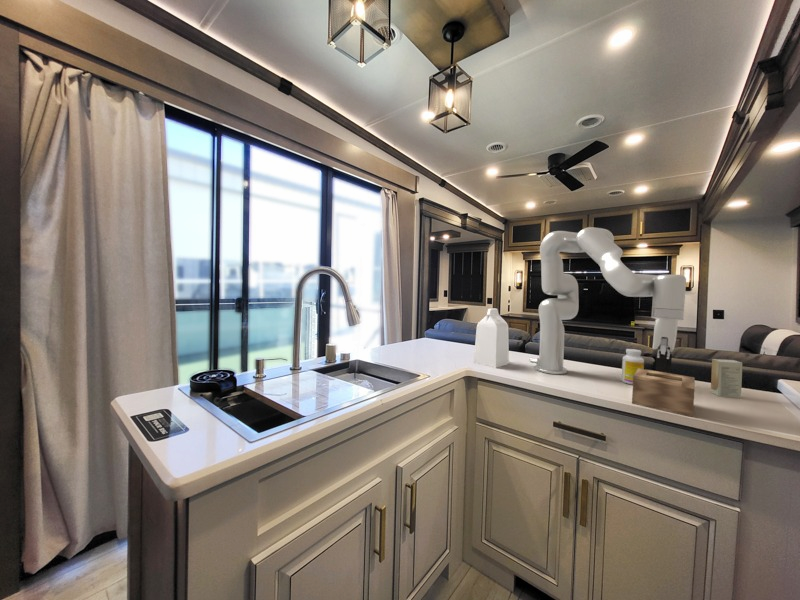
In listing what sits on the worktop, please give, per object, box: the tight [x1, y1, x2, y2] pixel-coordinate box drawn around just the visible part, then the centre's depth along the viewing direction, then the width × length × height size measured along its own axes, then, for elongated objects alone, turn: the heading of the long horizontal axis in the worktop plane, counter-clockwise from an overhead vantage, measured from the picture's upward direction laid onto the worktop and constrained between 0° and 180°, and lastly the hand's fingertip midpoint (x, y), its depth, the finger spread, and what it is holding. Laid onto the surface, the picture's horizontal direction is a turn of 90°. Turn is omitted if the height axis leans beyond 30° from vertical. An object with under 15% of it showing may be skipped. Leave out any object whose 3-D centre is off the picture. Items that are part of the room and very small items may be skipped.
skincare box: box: [710, 358, 743, 399], centre depth 105 cm, size 6×4×12 cm
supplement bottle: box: [621, 348, 645, 386], centre depth 117 cm, size 7×7×13 cm
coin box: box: [631, 368, 696, 418], centre depth 96 cm, size 14×12×9 cm
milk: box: [473, 308, 510, 369], centre depth 144 cm, size 12×12×26 cm
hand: (663, 368), depth 96 cm, fingers open, 9 cm apart
